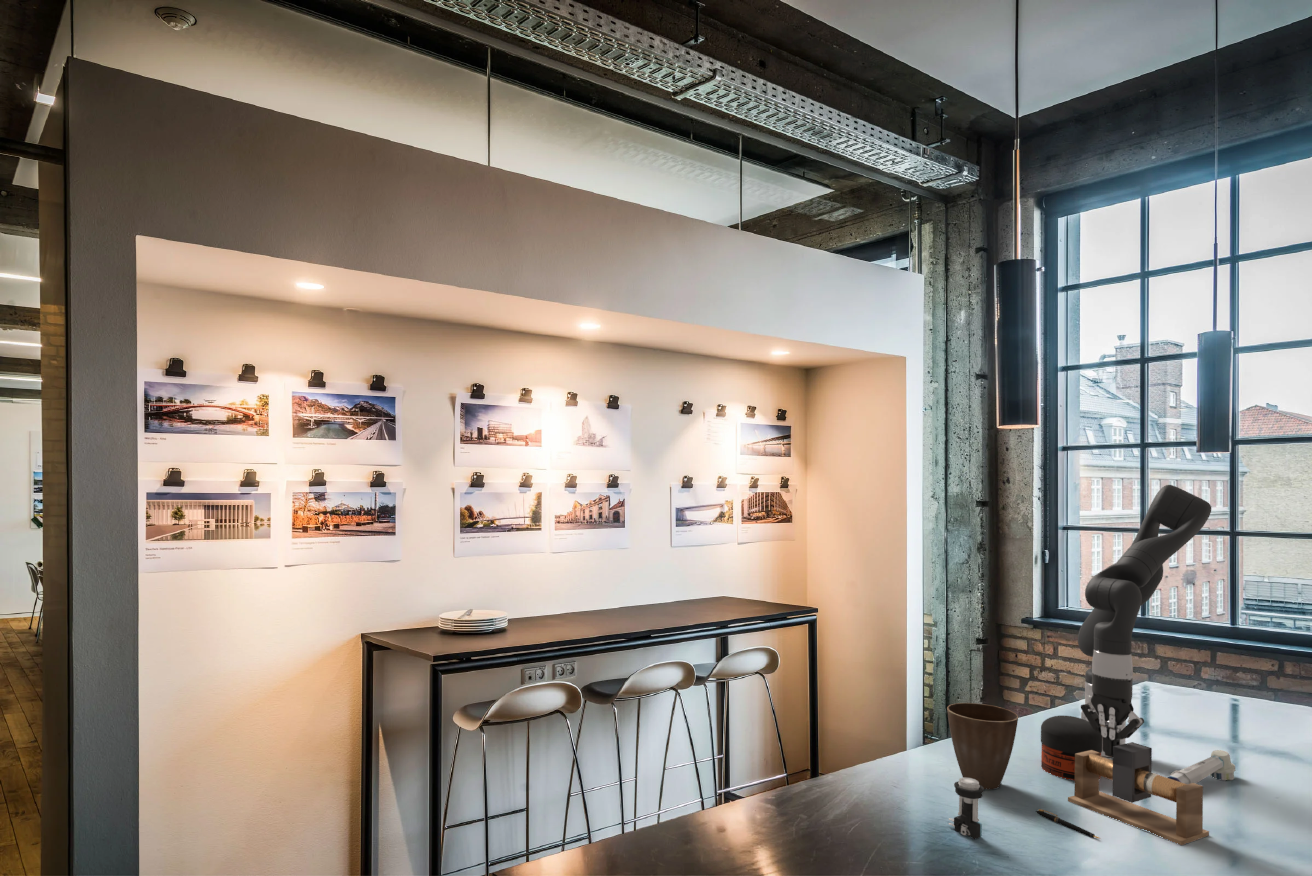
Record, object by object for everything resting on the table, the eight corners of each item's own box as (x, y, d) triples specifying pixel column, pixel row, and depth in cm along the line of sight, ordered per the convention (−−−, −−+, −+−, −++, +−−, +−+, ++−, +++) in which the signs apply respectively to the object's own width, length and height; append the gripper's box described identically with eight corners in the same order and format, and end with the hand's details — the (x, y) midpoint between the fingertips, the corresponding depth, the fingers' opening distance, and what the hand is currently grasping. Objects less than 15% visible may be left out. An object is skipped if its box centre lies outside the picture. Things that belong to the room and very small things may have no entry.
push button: (941, 829, 157) (942, 777, 158) (957, 823, 161) (958, 771, 161) (972, 842, 152) (973, 788, 153) (988, 835, 155) (989, 782, 156)
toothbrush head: (1159, 772, 184) (1214, 741, 197) (1161, 801, 184) (1216, 769, 197) (1184, 780, 179) (1238, 748, 192) (1186, 809, 180) (1240, 776, 192)
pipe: (1085, 774, 174) (1085, 754, 174) (1096, 771, 176) (1097, 751, 176) (1178, 807, 158) (1179, 785, 158) (1190, 803, 160) (1190, 782, 160)
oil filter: (1109, 773, 193) (1052, 758, 202) (1110, 721, 193) (1052, 708, 202) (1091, 786, 184) (1031, 770, 193) (1091, 731, 184) (1032, 717, 193)
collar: (1112, 795, 168) (1112, 746, 168) (1131, 790, 171) (1132, 742, 172) (1131, 802, 164) (1132, 752, 165) (1151, 797, 168) (1151, 747, 168)
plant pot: (934, 782, 182) (936, 710, 183) (961, 766, 193) (962, 698, 194) (1002, 802, 172) (1003, 726, 173) (1026, 784, 183) (1028, 712, 184)
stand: (1067, 801, 174) (1068, 754, 175) (1095, 793, 179) (1096, 748, 180) (1181, 845, 154) (1181, 792, 155) (1209, 835, 159) (1209, 784, 160)
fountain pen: (1103, 842, 155) (1103, 834, 155) (1100, 843, 154) (1100, 835, 155) (1037, 813, 168) (1037, 806, 168) (1033, 814, 167) (1033, 807, 167)
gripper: (1071, 667, 176) (1070, 748, 176) (1133, 682, 165) (1132, 769, 164) (1092, 664, 180) (1091, 744, 179) (1154, 678, 169) (1153, 763, 168)
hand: (1111, 755), depth 172 cm, fingers closed
